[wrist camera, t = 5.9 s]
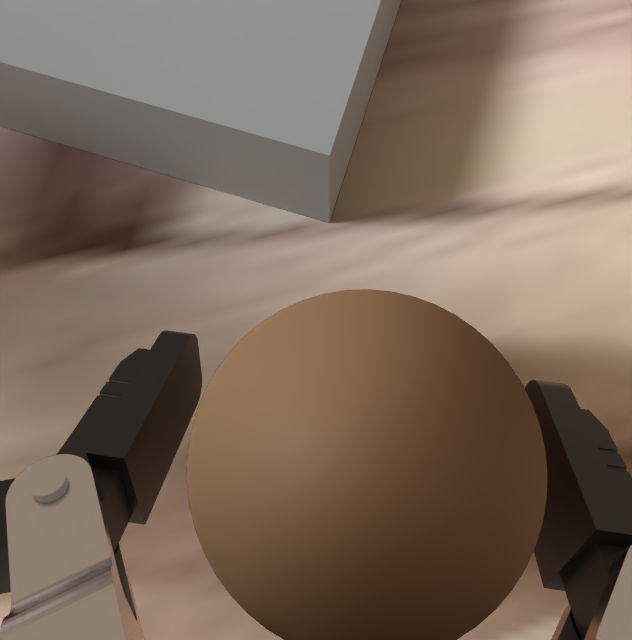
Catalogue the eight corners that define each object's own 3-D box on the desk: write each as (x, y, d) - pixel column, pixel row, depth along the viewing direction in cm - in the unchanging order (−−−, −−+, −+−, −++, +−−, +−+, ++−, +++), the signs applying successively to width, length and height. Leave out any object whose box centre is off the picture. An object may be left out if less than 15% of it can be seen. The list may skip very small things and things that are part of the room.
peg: (252, 461, 15) (135, 590, 6) (295, 325, 16) (251, 248, 7) (391, 507, 15) (496, 717, 6) (430, 366, 16) (583, 347, 6)
